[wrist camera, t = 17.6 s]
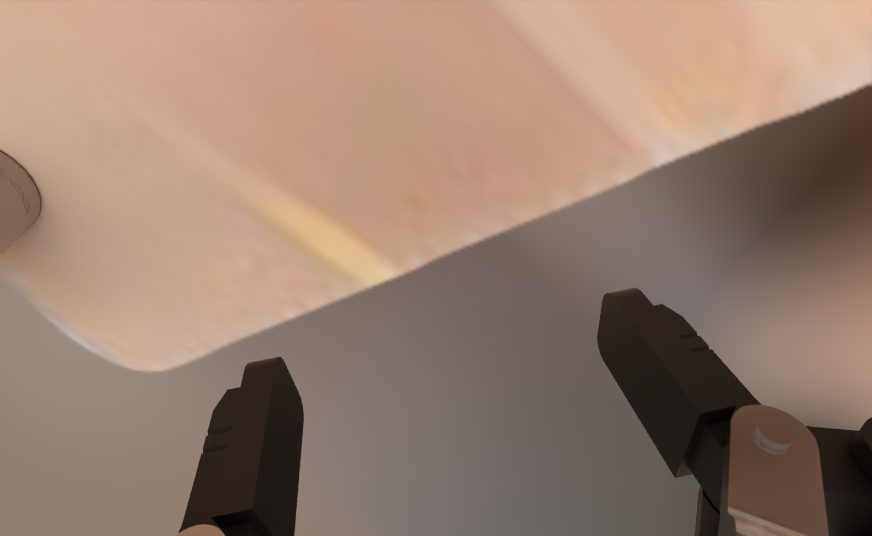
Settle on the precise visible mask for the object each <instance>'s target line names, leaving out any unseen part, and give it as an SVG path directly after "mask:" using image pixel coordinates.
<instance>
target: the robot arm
mask: <svg viewBox="0 0 872 536" xmlns="http://www.w3.org/2000/svg"><path fill="white" fill-rule="evenodd" d="M39 212H40V197H39V194H38V190H37V188H36V186H35V185H34V183H33V181H32V179H31V178H30V177H29V176H28V174H27V173H26V172H25V171H24V170H23V169H22V168H21V167H20V166H19V165H18V164H17V163H16V162H14V161H13V160H12V159H11V158H9V157H8V156H6V155H5V154H3V153H2V152H0V254H1V253H2V252H3V251H4V250H5V249H6V248H8V247H9V246H10V245H11V244H12V243H13V242H14V241H15V240H16V239H17V238H18V237H19V236H20V235H21V234H23V233H24V232H25V231H26V230H27V229H28V228H29V227H30V226H31V225H32V224H33V223H34V222H35V220H36V219H37V218H38V215H39ZM597 341H598V347H599V351H600V354H601V356H602V359H603V361H604V362H605V364H606V366H607V367H608V369H609V370H610V372H611V374H612V375H613V377H614V379H615V380H616V382H617V383H618V385H619V387H620V388H621V390H622V392H623V393H624V395H625V397H626V398H627V400H628V402H629V403H630V405H631V407H632V408H633V410H634V411H635V413H636V415H637V416H638V418H639V420H640V421H641V423H642V424H643V426H644V428H645V429H646V431H647V433H648V434H649V436H650V438H651V439H652V441H653V443H654V444H655V446H656V447H657V449H658V451H659V452H660V454H661V456H662V457H663V459H664V461H665V462H666V464H667V465H668V467H669V469H670V470H671V472H672V474H673V475H674V477H675V478H676V477H681V476H685V475H690V474H693V475H694V476H695V478H696V479H697V481H698V482H699V484H700V487H699V491H698V499H697V510H696V522H695V533H694V536H872V418H870V419H868V420H867V421H866V422H865V423H864V425H863V426H862V427H861V429H860V430H859V431H853V430H841V429H830V428H819V427H810V426H805V425H804V424H803V423H802V422H800V421H799V420H798V419H796V418H795V417H793V416H792V415H790V414H788V413H786V412H784V411H782V410H780V409H777V408H774V407H770V406H766V405H761V404H760V403H759V402H758V401H757V400H756V399H755V398H754V397H753V396H752V394H751V393H750V392H749V391H748V390H747V389H746V388H745V387H744V385H743V384H742V383H741V382H740V381H739V380H738V379H737V377H736V376H735V375H734V374H733V373H732V372H731V371H730V370H729V368H728V367H727V366H726V365H725V364H724V363H723V362H722V361H721V359H720V358H719V357H718V356H717V355H716V354H715V353H714V351H713V350H710V349H709V347H708V345H707V344H706V342H705V341H704V340H703V339H702V338H701V337H700V336H697V332H696V331H695V330H694V329H693V328H692V327H691V326H690V324H689V323H688V322H687V321H686V320H685V319H684V318H683V317H682V316H681V315H679V314H678V313H676V312H674V311H672V310H671V309H669V308H668V307H666V306H664V305H663V304H660V305H655V306H653V305H652V303H651V302H650V301H649V300H648V299H647V297H646V296H645V295H644V294H643V293H642V292H641V291H640V290H639V289H637V288H632V289H627V290H622V291H617V292H612V293H607V294H605V295H604V297H603V301H602V308H601V314H600V321H599V329H598V336H597ZM303 422H304V414H303V406H302V401H301V397H300V395H299V393H298V390H297V388H296V386H295V384H294V382H293V380H292V377H291V375H290V373H289V371H288V369H287V367H286V364H285V362H284V361H283V359H282V358H281V357H276V358H271V359H265V360H261V361H255V362H251V363H248V364H247V365H246V367H245V370H244V374H243V379H242V383H241V387H240V388H234V389H229V390H227V391H226V393H225V394H224V396H223V397H222V399H221V400H220V401H219V403H218V404H217V406H216V407H215V409H214V410H213V414H212V417H211V421H210V425H209V428H208V436H206V439H205V443H204V447H203V454H201V458H200V461H199V465H198V468H197V472H196V476H195V479H194V483H193V487H192V491H191V494H190V498H189V501H188V505H187V509H186V512H185V516H184V520H183V523H182V526H181V528H180V531H179V533H178V534H177V535H176V536H294V531H295V520H296V508H297V495H298V484H299V470H300V459H301V447H302V435H303Z"/></svg>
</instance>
